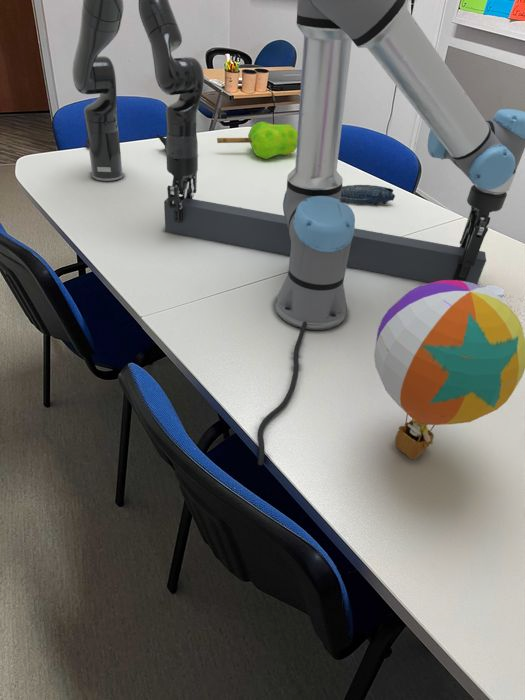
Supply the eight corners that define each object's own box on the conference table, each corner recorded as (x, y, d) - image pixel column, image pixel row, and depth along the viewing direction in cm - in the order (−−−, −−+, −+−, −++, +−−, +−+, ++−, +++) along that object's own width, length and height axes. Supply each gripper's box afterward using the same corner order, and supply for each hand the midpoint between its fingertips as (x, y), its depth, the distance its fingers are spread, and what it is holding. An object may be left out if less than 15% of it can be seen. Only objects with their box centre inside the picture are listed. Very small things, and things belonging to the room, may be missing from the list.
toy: (324, 440, 84) (359, 279, 65) (398, 390, 94) (447, 240, 76) (424, 525, 73) (502, 362, 54) (495, 458, 83) (581, 302, 65)
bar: (473, 282, 128) (485, 251, 123) (474, 291, 125) (486, 260, 119) (171, 224, 140) (170, 194, 135) (165, 231, 137) (163, 201, 131)
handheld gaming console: (200, 148, 184) (184, 127, 176) (190, 164, 183) (174, 144, 175) (177, 144, 191) (162, 124, 182) (167, 160, 189) (151, 141, 181)
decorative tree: (214, 118, 187) (294, 118, 193) (214, 147, 194) (292, 146, 199) (220, 132, 174) (307, 132, 179) (220, 164, 180) (304, 162, 185)
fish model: (393, 208, 159) (397, 192, 156) (325, 201, 160) (327, 185, 157) (391, 200, 165) (395, 185, 161) (325, 193, 165) (328, 178, 162)
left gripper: (178, 141, 131) (180, 204, 141) (155, 158, 120) (158, 225, 130) (206, 145, 130) (206, 208, 140) (185, 163, 119) (186, 230, 129)
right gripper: (469, 172, 119) (440, 261, 134) (474, 200, 106) (441, 296, 120) (503, 177, 118) (470, 267, 133) (512, 206, 105) (474, 303, 119)
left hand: (183, 216), depth 135 cm, fingers open, 6 cm apart
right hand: (456, 281), depth 127 cm, fingers closed on bar, 4 cm apart
